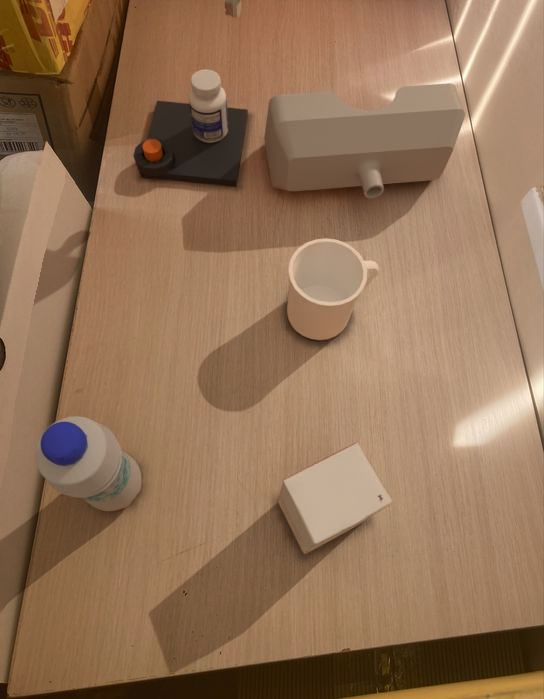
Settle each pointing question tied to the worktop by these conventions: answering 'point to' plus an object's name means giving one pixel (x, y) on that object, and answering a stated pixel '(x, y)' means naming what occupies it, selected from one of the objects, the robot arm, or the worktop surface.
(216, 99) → the pill bottle
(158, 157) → the button
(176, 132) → the scale
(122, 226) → the worktop surface
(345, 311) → the mug
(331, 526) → the small box
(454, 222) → the worktop surface
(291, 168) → the tank
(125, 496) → the bottle
